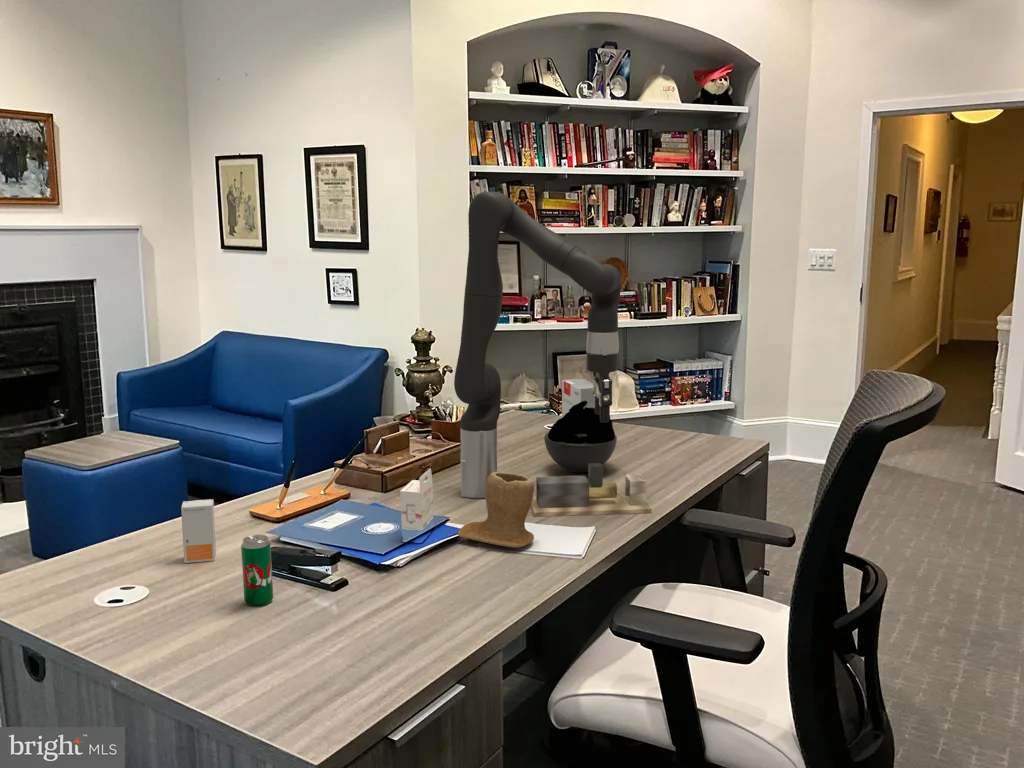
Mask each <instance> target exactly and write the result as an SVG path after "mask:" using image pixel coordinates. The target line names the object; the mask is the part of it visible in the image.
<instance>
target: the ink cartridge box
mask: <svg viewBox="0 0 1024 768" xmlns="http://www.w3.org/2000/svg"><path fill="white" fill-rule="evenodd" d="M426 478H427V479H426ZM425 479H426V480H425ZM399 493H400V494H399V495H400V496H399V497H400V516H401V517H400V519H401V530H402V529H406V530H419V531H420V530H423V529H424V528H425V527H426V526H427V525H428V524H429V523H430V521H431V520H432V519H433V520H434V485H433V473H432V469H431V467H430V468H429V469H428V470H426V471H425V472H424V473H423V474H422V475H421V476H420V477H419V479H418V480H416V479H412V480H411V481H409V482H408V483H407V484H406V485H405V486H404V487H402V489H400V491H399Z"/></svg>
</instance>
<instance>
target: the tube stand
mask: <svg viewBox="0 0 1024 768" xmlns="http://www.w3.org/2000/svg"><path fill="white" fill-rule="evenodd" d="M535 479H536V481H535V482H536V488H535V490H536V494H535V496H533V499H532V503H531V506H530V509H531V510H532V513H533V517H534V518H535V517H562V516H563V517H564V516H565V517H566V516H597V515H598V516H600V515H625V514H626V515H629V514H631V515H633V513H637V514H652V507H651V506H650V505H649V504H648V503H647V480H646V479H645V477H643V475H642V474H640V473H635V474H633V473H632V474H631V473H630V474H629V473H628V474H625V475H624V493H623V494H622V493H620V494H618V493H617V497H616V498H601V499H589V481H588V477H587V476H586V475H559V476H558V475H557V476H556V475H555V476H554V475H552V476H550V475H549V476H536V478H535Z"/></svg>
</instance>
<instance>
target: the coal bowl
mask: <svg viewBox="0 0 1024 768" xmlns="http://www.w3.org/2000/svg"><path fill="white" fill-rule="evenodd" d="M587 403H588V402H587V401H582V402H580V403H578V404H576V405H573V406H572V407H571V408H570V409H569V412H568V413H566V414H565V415H564V416H563V418H562V417H561V418H559V419H557V420H556V422H554V423H553V424H552V426H551V428H550V429H549V431H548V432H547V433H545V434H544V444H545V447H546V450H547V453H548V455H549V456H550V458H551V459H552V460H553V461H554V462H555V463H556V464H557V465H558V466H559V467H561V468H563V469H565V470H567V471H569V472H574V473H579V474H582V473H588V463H601V464H602V466H604V465H605V464H606V463H607V462H608V461H609V460H610V458H611V457H612V456H613V453H614V451H615V449H616V445H617V442H618V441H617V439H618V438H617V435H616V433H615V430H614V427H613V421H612V420H611V418H610V421H609V422H608V423H602V422H600V415H596V414H595V408H587V407H585V406H586V405H587ZM584 407H585V408H584Z"/></svg>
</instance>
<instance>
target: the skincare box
mask: <svg viewBox="0 0 1024 768" xmlns="http://www.w3.org/2000/svg"><path fill="white" fill-rule="evenodd" d="M180 511H181V525H182V526H181V528H182V530H181V531H182V542H183V543H182V545H183V547H182V548H183V560H184V561H183V562H184V564H190V563H203V562H215V561H216V557H217V556H216V555H217V544H216V543H217V541H216V526H215V525H216V524H215V523H216V522H215V502H214V499H213V498H212V499H211V498H209V499H197V500H189V501H187V500H186V501H185V500H183V501H182V504H181V509H180Z"/></svg>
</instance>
